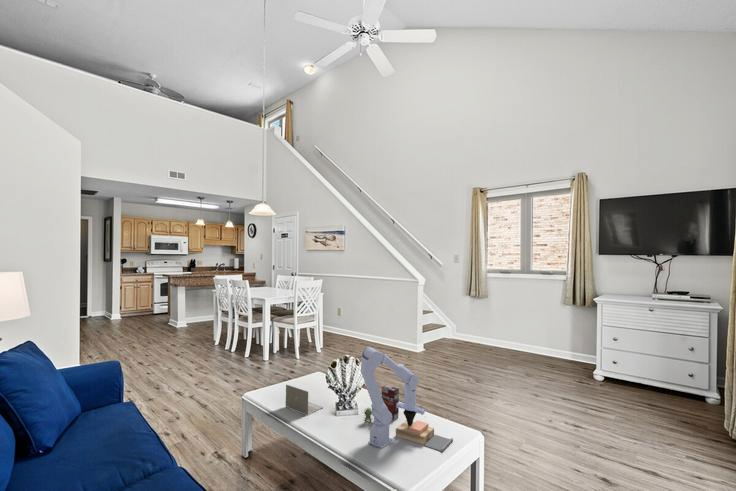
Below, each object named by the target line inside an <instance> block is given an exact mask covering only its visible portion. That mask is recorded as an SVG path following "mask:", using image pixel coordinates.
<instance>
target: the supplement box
mask: <svg viewBox="0 0 736 491" xmlns="http://www.w3.org/2000/svg"><path fill="white" fill-rule="evenodd" d="M399 392H400V389H399V388H397V387H395V386H391V385H388V384H386V385H383V386H381V396H382V399H383V402H384V403H385V405H386V406H387V408H388V410H389V411H390V412H391V414H392V420H391V421H395V420H397V419H399V416H400V415H399V412H400V411H399V409H400V408H397V407H396V404H397V403H398V402H399V401H400V395H399V394H400V393H399ZM399 403H400V402H399Z"/></svg>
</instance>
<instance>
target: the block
mask: <svg viewBox="0 0 736 491" xmlns="http://www.w3.org/2000/svg"><path fill="white" fill-rule="evenodd" d="M428 427H429V422H425V421H421V420H418V419H417V420H416V421H415V423H413V424H412V425H411V426H410V427H409V432H412V433H415V434H418V435H421V434H422V433H423V432H424V431H425V430H426V429H428Z"/></svg>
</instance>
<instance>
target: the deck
mask: <svg viewBox="0 0 736 491" xmlns="http://www.w3.org/2000/svg"><path fill="white" fill-rule="evenodd" d="M415 422H416V421H415ZM415 422H414V421H413V423H415ZM409 427H410V426H408V423H407V420H405V421H404V422H402V423H401V424H399V425H398V426H397V427H396V428H395V437H399V438H402V439H405V440H408V441H410V442H413V443H417V444H420V445H423V446H424V444H426V443H427V442H428V441H429V440H430V439H431V438H432V437H433V436H434V435H435V428H434V427H430V426H428V429H426V430H425V431H424V432H423V433H422V434H421V435H418V434H415V433H412V432H409Z"/></svg>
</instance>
